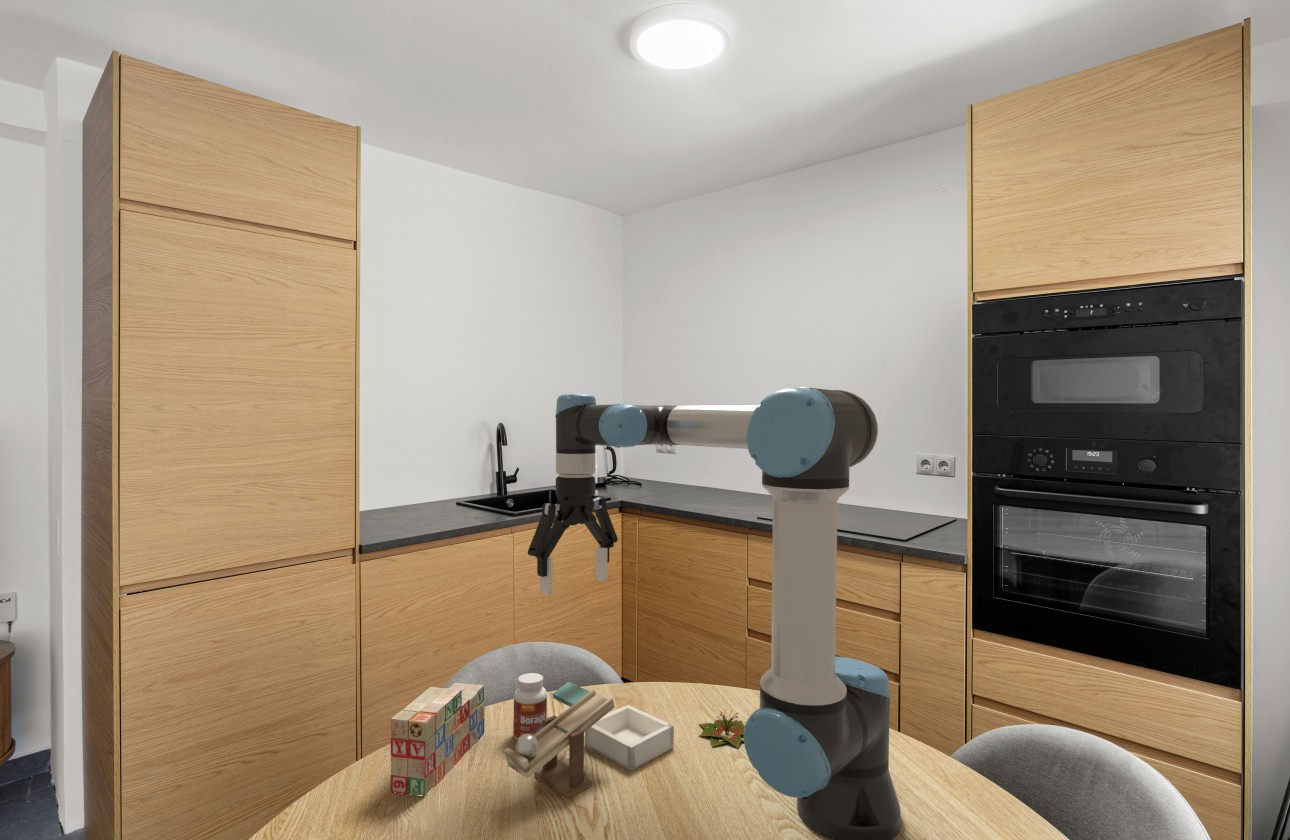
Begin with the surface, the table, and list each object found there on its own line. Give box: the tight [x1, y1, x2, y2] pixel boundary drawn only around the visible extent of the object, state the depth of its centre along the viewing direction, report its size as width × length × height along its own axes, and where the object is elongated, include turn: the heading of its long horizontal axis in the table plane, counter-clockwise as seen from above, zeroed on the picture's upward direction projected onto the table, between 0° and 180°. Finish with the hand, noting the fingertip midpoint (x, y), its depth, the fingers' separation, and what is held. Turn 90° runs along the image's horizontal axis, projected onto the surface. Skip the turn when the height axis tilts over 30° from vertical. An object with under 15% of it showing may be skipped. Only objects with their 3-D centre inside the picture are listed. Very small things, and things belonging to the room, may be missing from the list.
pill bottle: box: [512, 672, 548, 741], centre depth 122 cm, size 6×6×11 cm
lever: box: [503, 681, 615, 779], centre depth 109 cm, size 12×19×3 cm, turn 136°
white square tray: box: [584, 704, 675, 772], centre depth 118 cm, size 12×11×4 cm
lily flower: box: [698, 708, 745, 749], centre depth 123 cm, size 12×12×5 cm
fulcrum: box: [533, 715, 593, 799], centre depth 107 cm, size 9×5×9 cm, turn 46°
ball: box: [515, 734, 539, 759], centre depth 102 cm, size 4×4×4 cm
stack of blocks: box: [390, 682, 486, 797], centre depth 113 cm, size 21×6×12 cm, turn 168°
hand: (574, 586), depth 123 cm, fingers open, 13 cm apart
